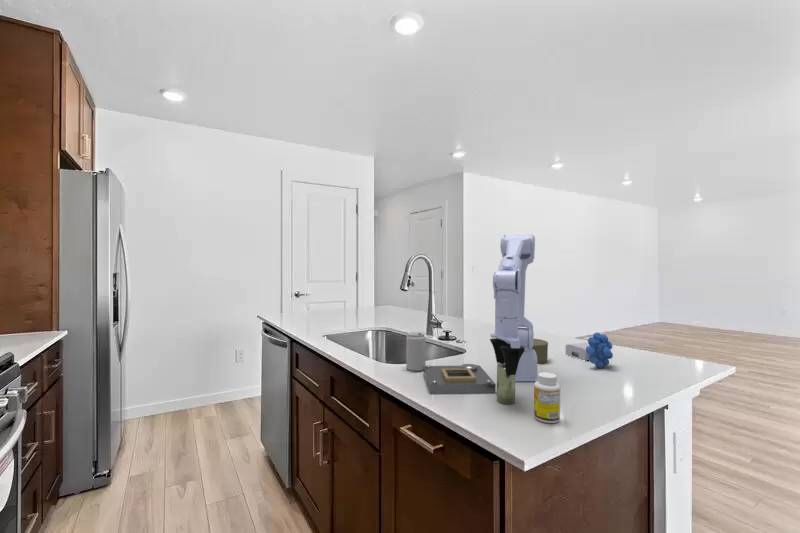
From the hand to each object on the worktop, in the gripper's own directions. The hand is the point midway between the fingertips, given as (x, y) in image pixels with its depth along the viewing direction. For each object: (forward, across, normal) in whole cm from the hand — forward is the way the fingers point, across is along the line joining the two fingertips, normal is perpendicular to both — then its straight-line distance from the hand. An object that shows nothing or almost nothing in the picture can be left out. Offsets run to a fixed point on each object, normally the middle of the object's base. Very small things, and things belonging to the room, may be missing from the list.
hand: (506, 370), depth 99 cm
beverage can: (+8, -29, -21) cm, 37 cm away
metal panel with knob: (+8, -15, -10) cm, 20 cm away
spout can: (+8, 0, 0) cm, 8 cm away
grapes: (+8, -28, +41) cm, 50 cm away
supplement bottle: (+8, +11, +6) cm, 15 cm away
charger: (+8, -44, +45) cm, 63 cm away
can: (+8, -39, +21) cm, 45 cm away
